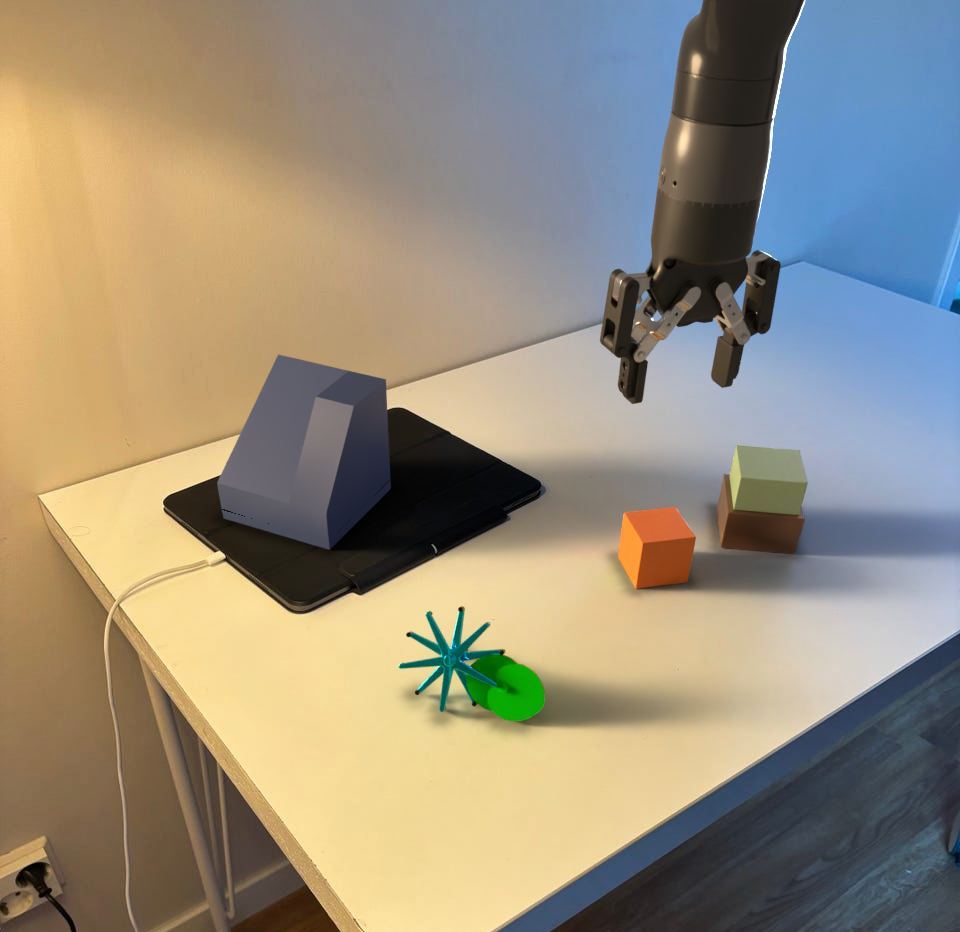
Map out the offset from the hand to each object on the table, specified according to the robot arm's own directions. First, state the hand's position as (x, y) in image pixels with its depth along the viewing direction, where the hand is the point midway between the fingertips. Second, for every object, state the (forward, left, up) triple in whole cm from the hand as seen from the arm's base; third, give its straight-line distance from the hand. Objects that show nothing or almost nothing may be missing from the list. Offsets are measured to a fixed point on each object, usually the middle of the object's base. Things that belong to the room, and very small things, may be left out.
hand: (677, 391), depth 81 cm
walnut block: (-10, -6, -17) cm, 21 cm away
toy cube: (0, +2, -17) cm, 17 cm away
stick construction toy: (+14, +20, -17) cm, 30 cm away
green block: (-10, -6, -13) cm, 18 cm away
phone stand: (+34, -4, -17) cm, 38 cm away
